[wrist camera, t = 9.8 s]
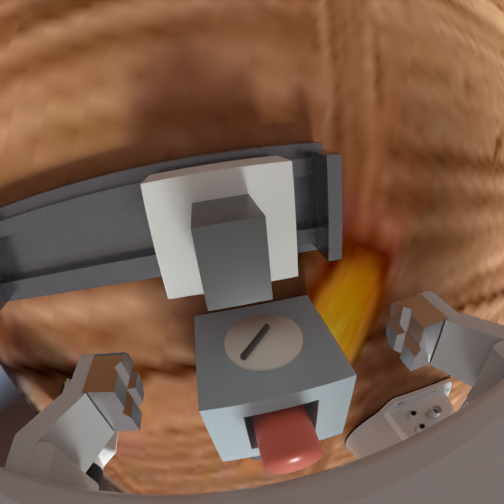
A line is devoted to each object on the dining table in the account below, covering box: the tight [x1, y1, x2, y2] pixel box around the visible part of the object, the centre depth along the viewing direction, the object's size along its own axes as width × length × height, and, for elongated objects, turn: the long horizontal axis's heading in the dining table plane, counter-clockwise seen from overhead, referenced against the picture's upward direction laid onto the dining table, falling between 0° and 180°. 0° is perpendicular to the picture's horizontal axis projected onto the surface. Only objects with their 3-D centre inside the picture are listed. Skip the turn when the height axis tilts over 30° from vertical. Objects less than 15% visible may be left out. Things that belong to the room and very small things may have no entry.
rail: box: [0, 141, 343, 311], centre depth 18 cm, size 28×8×4 cm, turn 96°
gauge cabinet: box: [194, 295, 357, 461], centre depth 22 cm, size 10×9×10 cm
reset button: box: [251, 404, 324, 474], centre depth 17 cm, size 4×4×4 cm
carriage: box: [140, 155, 298, 311], centre depth 16 cm, size 8×7×7 cm
